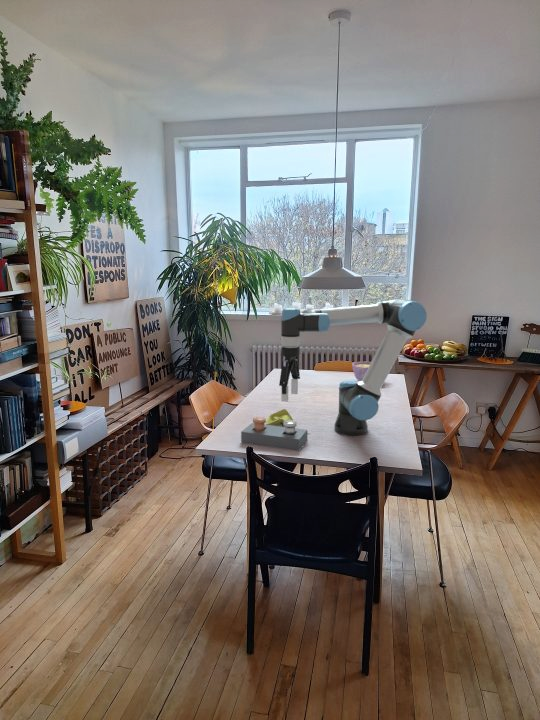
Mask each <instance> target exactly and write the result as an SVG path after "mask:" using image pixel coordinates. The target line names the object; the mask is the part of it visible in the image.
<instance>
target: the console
mask: <svg viewBox="0 0 540 720" xmlns="http://www.w3.org/2000/svg"><path fill="white" fill-rule="evenodd" d="M240 437H241V438H240V439H241V444H249V445H256V446H262V447H269V448H276V449H284V450H291V451H297V450H298V451H297V452H300V450H301V449H302V448H303V447H304V446H305V444H306V443H307V442H308V429H304V428H296V427H295V435H286V434H285V427H284V426H282V427H281V426H274V425H266V423H264V431H255V430H254V423H253V422H252V423H250V424H248V426H247V427H245V428H243V429H242V431H240ZM302 446H303V447H302Z"/></svg>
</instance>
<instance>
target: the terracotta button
mask: <svg viewBox="0 0 540 720" xmlns="http://www.w3.org/2000/svg"><path fill="white" fill-rule="evenodd" d="M266 421H267V418H265V417H263V416H257V417H256V416H255V417H254V418H252V423H254V430H255V431H264V424H266Z"/></svg>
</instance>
